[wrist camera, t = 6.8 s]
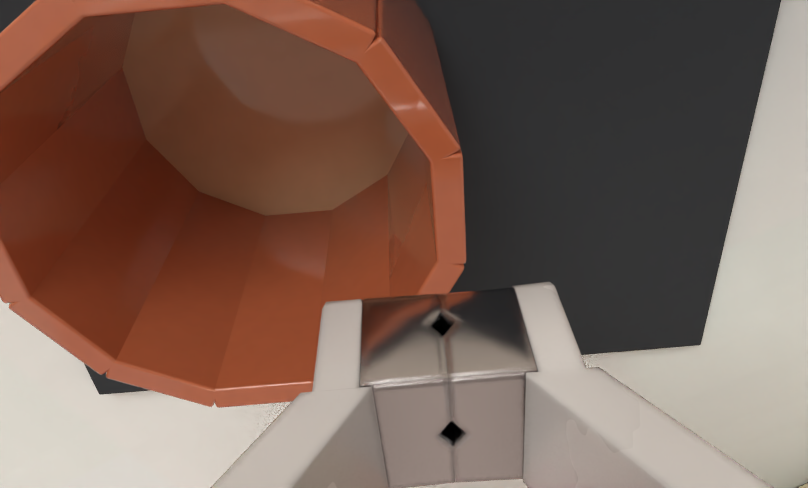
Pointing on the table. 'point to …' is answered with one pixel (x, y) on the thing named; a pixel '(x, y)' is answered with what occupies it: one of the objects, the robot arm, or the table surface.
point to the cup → (221, 182)
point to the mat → (596, 152)
